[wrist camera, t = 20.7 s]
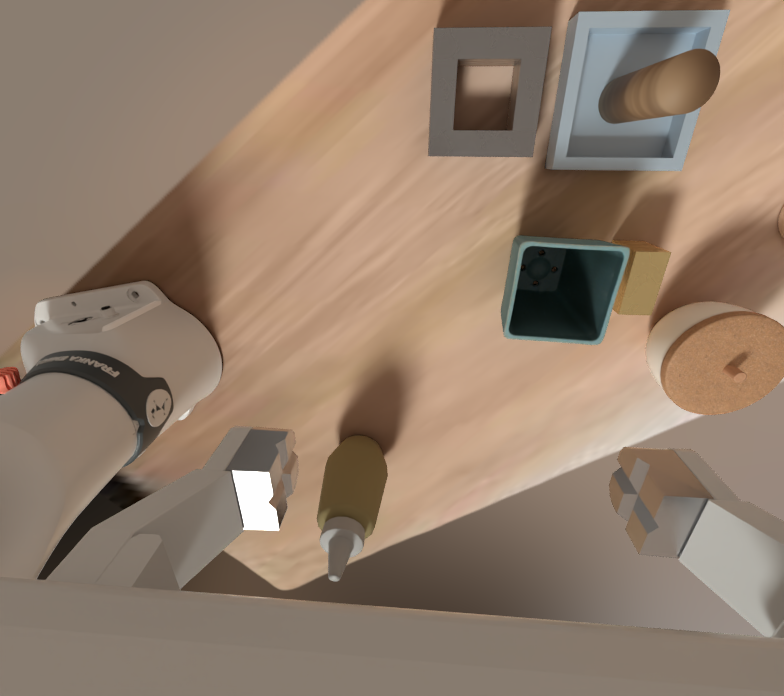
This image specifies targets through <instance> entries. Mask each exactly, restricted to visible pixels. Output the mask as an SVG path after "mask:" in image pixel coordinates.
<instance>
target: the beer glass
mask: <svg viewBox="0 0 784 696" xmlns="http://www.w3.org/2000/svg"><path fill="white" fill-rule="evenodd" d="M778 229H779V232H780V234H781V236H782V237H783V238H784V206H783V208H782V210H781V212H780V215H779V219H778Z"/></svg>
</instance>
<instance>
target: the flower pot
mask: <svg viewBox="0 0 784 696" xmlns="http://www.w3.org/2000/svg"><path fill="white" fill-rule="evenodd" d="M541 250H543V251H544V254H543V255H539V252H540V251H541ZM629 256H630V248H629V247H626V246H622V245H617V244H613V243H609V242H605V241H600V240H589V239H567V238H550V237H535V236H522V235H520V236H517V237H515V238H514V240H513V244H512V250H511V256H510V262H509V268H508V273H507V279H506V285H505V290H504V296H503V301H502V306H501V318H502V326H503V332H504V336H505V337H506V338H507V339H517V340H533V341H548V342H562V343H575V344H586V345H598V344H600V343H601V342H602V340H603V339H604V336H605V333H606V330H607V326H608V323H609V319H610V316H611V312H612V309H613V306H614V302H615V299H616V296H617V293H618V290H619V287H620V284H621V281H622V278H623V275H624V271H625V268H626V265H627V262H628V259H629ZM521 265H525V268H524V269H523V270H522V269H521ZM553 267H556V268H557V270H556V271H554V272H553V271H552V270H551V269H552V268H553ZM534 281H537V282H538V283H537V285H533V282H534Z"/></svg>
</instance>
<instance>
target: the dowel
mask: <svg viewBox="0 0 784 696" xmlns="http://www.w3.org/2000/svg"><path fill="white" fill-rule="evenodd" d="M719 78H720V65H719V62H718V59H717V58H716V56H715V55H714V54H713V53H712V52H710V51H708V50H706V49H692V50H689V51H686V52H684V53H681V54H679V55H676V56H673V57H671V58H668V59H665V60H663V61H660V62H658V63H655V64H652V65H650V66H647V67H644V68H642V69H639V70H637V71H634V72H631V73H629V74H626V75H623V76H621V77H618V78H616V79H614V80H612V81H611V82H610V83H609V84H607V86H606V87H605V88H604V89H603V91H602V93H601V95H600V98H599V102H598V109H599V113H600V116H601V117H602V119H603V120H605V121H606V122H608V123H611V124H619V123H626V122H632V121H639V120H646V119H653V118H660V117H667V116H674V115H681V114H687V113H690V112H693V111H695V110H697V109H698V108H700V107H701V106H703V105H704V104H705V103H706V102H707V101H708V100H709V99H710V97H711V96H712V94H713V93H714V91H715V89H716V87H717V85H718V82H719Z"/></svg>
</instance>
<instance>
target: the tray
mask: <svg viewBox="0 0 784 696" xmlns="http://www.w3.org/2000/svg"><path fill="white" fill-rule="evenodd" d="M729 13H730V10H676V11H600V12H578V13H577V14H576V15H575V16H574V17H573V18H572V19H571V20H569V22H568V28H567V34H566V40H565V46H564V52H563V59H562V65H561V71H560V77H559V83H558V89H557V95H556V102H555V108H554V114H553V120H552V126H551V132H550V139H549V145H548V151H547V157H546V163H545V169H552V170H640V171H682V168H683V164H684V161H685V158H686V154H687V151H688V148H689V145H690V141H691V138H692V135H693V131H694V128H695V125H696V121H697V118H698V115H699V112H700V108H701V107H700V108H698V109H697V110H695V111H693V112H690V113H687V114H681V115H674V116H667V117H660V118H653V119H646V120H639V121H632V122H626V123H619V124H611V123H608V122H606V121H605V120H603V119H602V117H601V116H600V113H599V109H598V102H599V98H600V95H601V93H602V91H603V89H604V88H605V87H606V86H607V84H609V83H610V82H611V81H612V80H614V79H616V78H618V77H621V76H623V75H626V74H629V73H631V72H634V71H637V70H639V69H642V68H644V67H647V66H650V65H652V64H655V63H658V62H660V61H663V60H665V59H668V58H671V57H673V56H676V55H679V54H681V53H684V52H686V51H689V50H692V49H706V50H708V51H710V52H712V53H713V54H714V55H715V56H716V55H717V52H718V49H719V46H720V42H721V39H722V36H723V32H724V29H725V26H726V22H727V19H728V16H729Z"/></svg>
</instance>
